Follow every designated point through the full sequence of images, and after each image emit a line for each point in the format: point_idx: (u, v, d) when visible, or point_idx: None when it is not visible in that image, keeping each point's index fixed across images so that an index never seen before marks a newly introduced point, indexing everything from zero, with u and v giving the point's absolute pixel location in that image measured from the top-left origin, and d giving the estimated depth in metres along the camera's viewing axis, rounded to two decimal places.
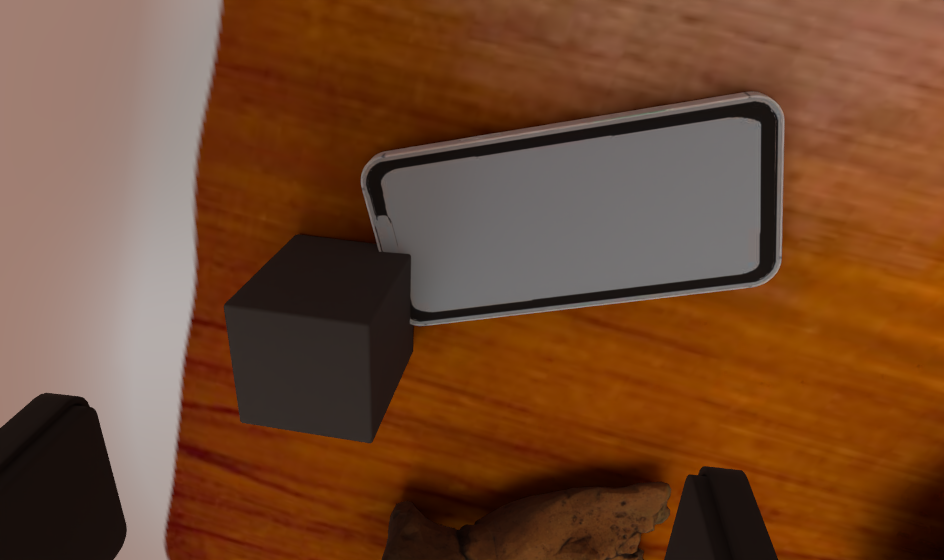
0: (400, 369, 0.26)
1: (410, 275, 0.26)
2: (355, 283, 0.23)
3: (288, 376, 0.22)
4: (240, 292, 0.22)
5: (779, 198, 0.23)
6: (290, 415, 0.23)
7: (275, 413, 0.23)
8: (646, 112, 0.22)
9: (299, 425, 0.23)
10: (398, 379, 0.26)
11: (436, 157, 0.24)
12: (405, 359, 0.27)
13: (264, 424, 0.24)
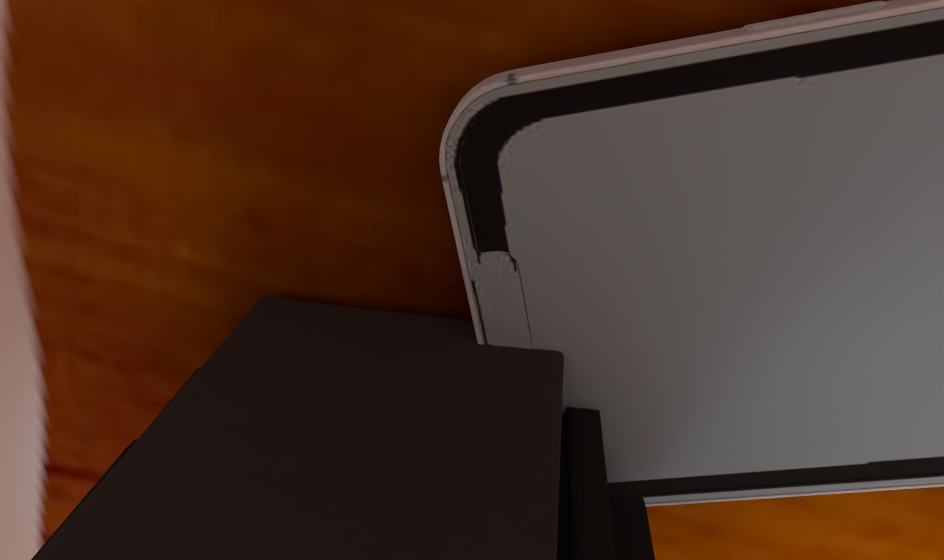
0: None
1: None
2: (442, 478, 0.07)
3: None
4: (54, 551, 0.06)
5: None
6: None
7: None
8: None
9: None
10: None
11: (675, 82, 0.08)
12: None
13: None
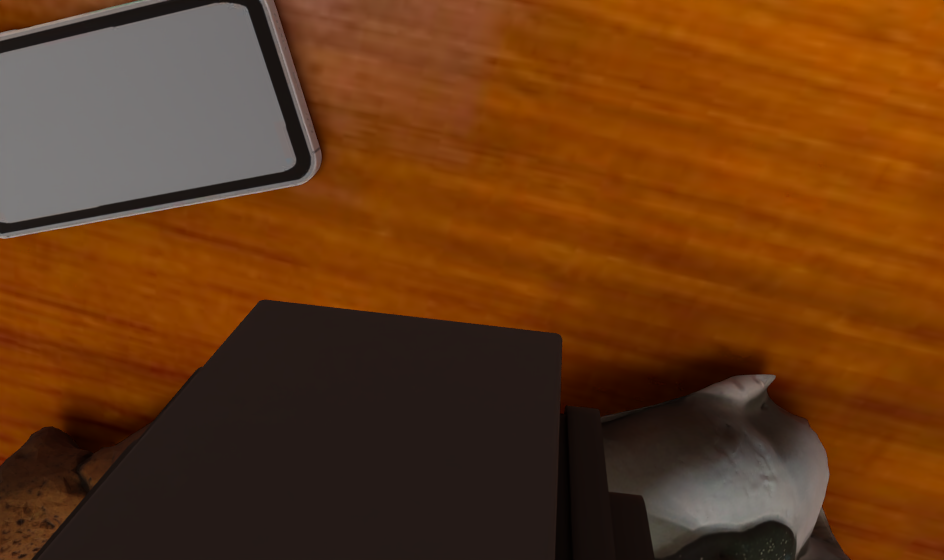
0: None
1: None
2: (441, 481, 0.07)
3: None
4: (54, 555, 0.06)
5: (293, 89, 0.23)
6: None
7: None
8: (138, 1, 0.22)
9: None
10: None
11: None
12: None
13: None
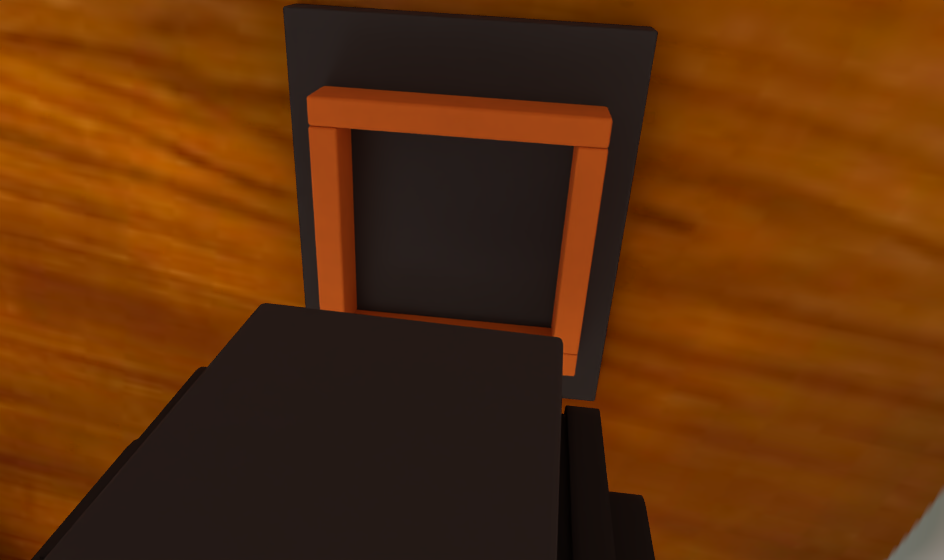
0: None
1: None
2: (443, 486, 0.07)
3: None
4: None
5: None
6: None
7: None
8: None
9: None
10: None
11: None
12: None
13: None
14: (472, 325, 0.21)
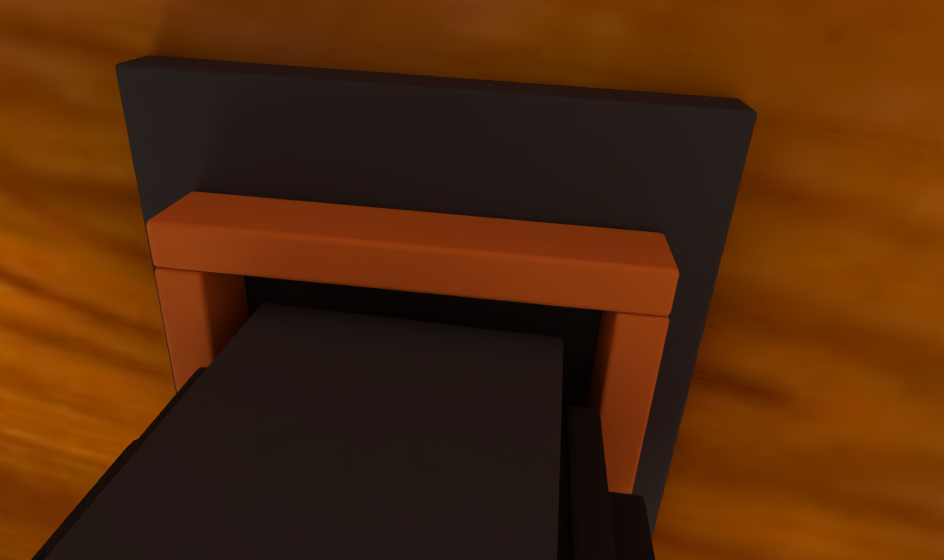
0: None
1: None
2: (443, 485, 0.07)
3: None
4: (57, 559, 0.06)
5: None
6: None
7: None
8: None
9: None
10: None
11: None
12: None
13: None
14: None
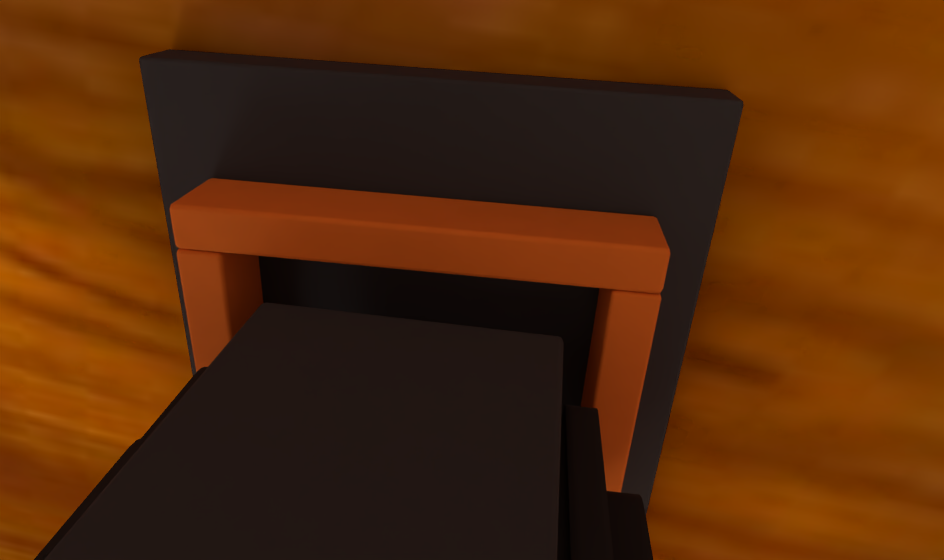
0: None
1: None
2: (443, 485, 0.07)
3: None
4: (58, 559, 0.06)
5: None
6: None
7: None
8: None
9: None
10: None
11: None
12: None
13: None
14: None
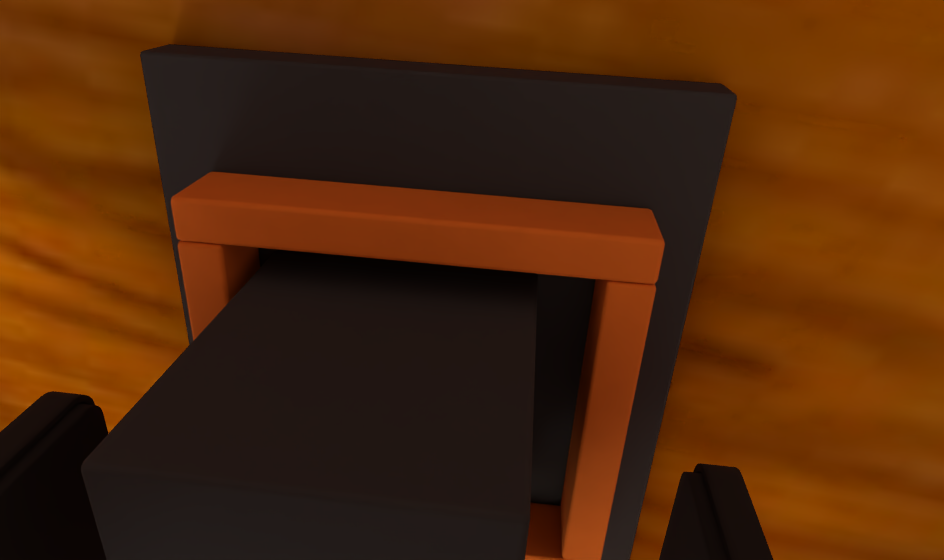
0: None
1: None
2: (442, 368, 0.09)
3: None
4: (136, 415, 0.08)
5: None
6: None
7: None
8: None
9: None
10: None
11: None
12: None
13: None
14: None
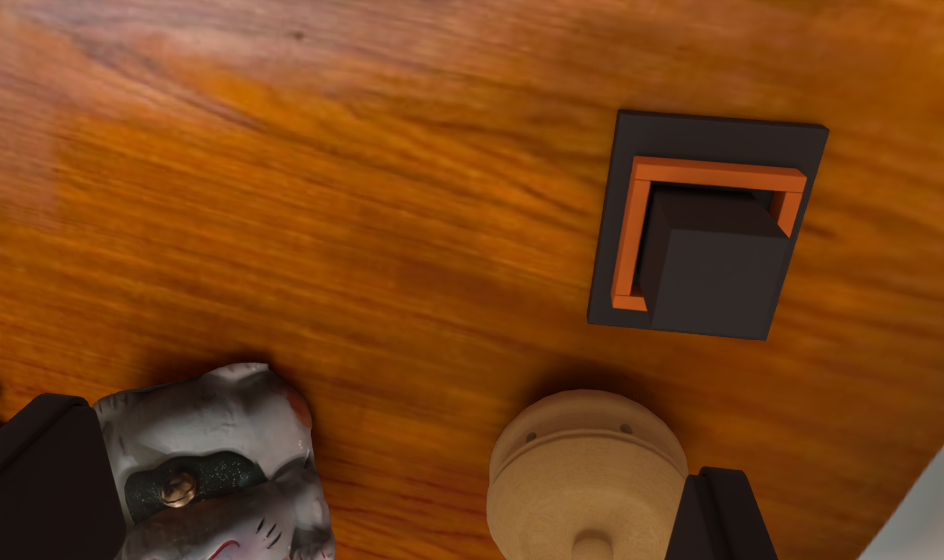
0: None
1: None
2: (743, 214, 0.30)
3: (707, 285, 0.29)
4: (672, 220, 0.29)
5: None
6: (698, 317, 0.30)
7: (685, 317, 0.30)
8: None
9: (703, 326, 0.30)
10: None
11: None
12: None
13: (672, 327, 0.30)
14: None
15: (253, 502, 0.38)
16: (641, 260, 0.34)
